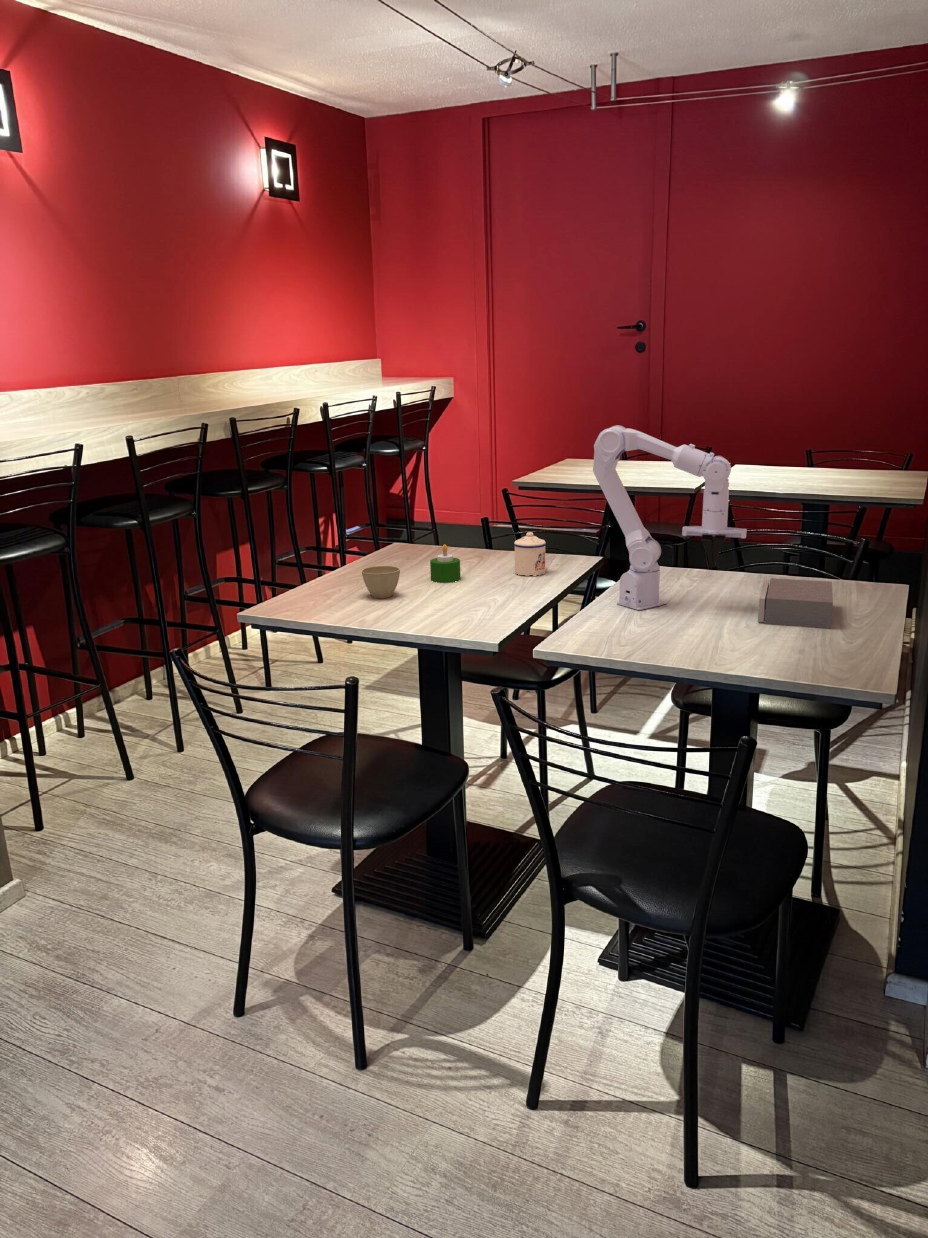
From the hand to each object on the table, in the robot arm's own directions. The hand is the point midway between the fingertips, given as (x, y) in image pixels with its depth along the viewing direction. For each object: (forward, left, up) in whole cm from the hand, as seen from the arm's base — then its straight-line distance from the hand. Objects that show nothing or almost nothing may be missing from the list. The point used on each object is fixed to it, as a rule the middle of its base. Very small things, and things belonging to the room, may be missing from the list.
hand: (712, 566), depth 223 cm
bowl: (-56, +61, -11) cm, 84 cm away
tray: (+10, -14, -10) cm, 20 cm away
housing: (+11, -15, -10) cm, 22 cm away
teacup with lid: (-9, +58, -11) cm, 60 cm away
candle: (-33, +66, -11) cm, 75 cm away
